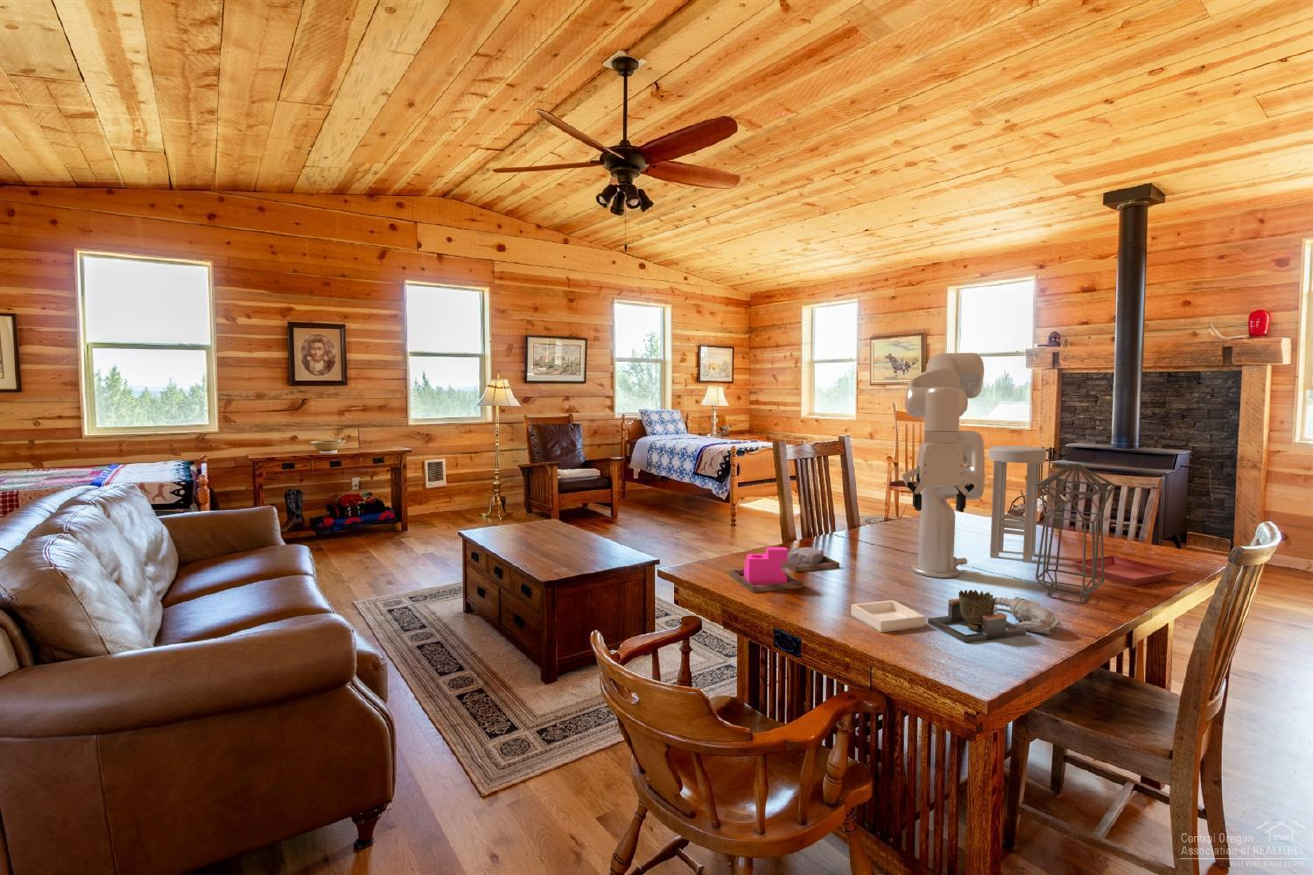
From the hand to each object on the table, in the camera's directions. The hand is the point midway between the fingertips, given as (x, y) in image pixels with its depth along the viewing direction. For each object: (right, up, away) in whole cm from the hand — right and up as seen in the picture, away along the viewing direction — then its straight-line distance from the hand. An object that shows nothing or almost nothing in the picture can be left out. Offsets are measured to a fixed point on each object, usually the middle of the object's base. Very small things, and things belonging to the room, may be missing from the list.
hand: (938, 510), depth 154 cm
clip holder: (+5, -26, -9) cm, 27 cm away
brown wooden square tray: (-37, -23, +27) cm, 51 cm away
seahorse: (+17, -26, -4) cm, 31 cm away
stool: (+47, -21, +53) cm, 74 cm away
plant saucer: (+67, -23, +32) cm, 77 cm away
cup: (+5, -26, -9) cm, 28 cm away
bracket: (-37, -23, +27) cm, 51 cm away
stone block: (-22, -21, +46) cm, 55 cm away
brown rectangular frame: (-22, -21, +46) cm, 55 cm away
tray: (-14, -25, -4) cm, 29 cm away
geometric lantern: (+39, -24, +13) cm, 48 cm away
